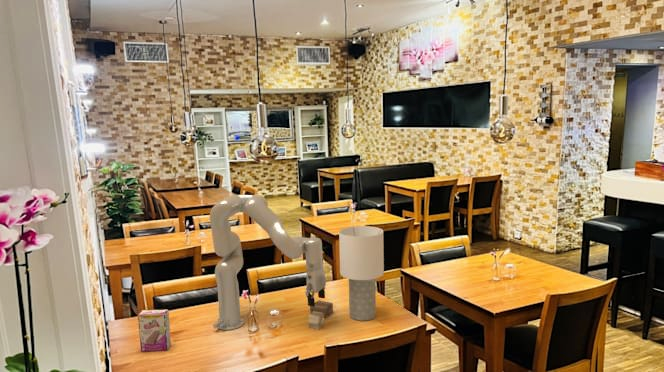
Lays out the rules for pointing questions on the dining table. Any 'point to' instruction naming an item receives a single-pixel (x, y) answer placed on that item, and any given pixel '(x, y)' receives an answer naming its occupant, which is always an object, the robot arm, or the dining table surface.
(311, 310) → the walnut base
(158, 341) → the candy bar box
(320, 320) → the oak block
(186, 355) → the dining table surface
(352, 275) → the lamp
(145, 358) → the dining table surface
